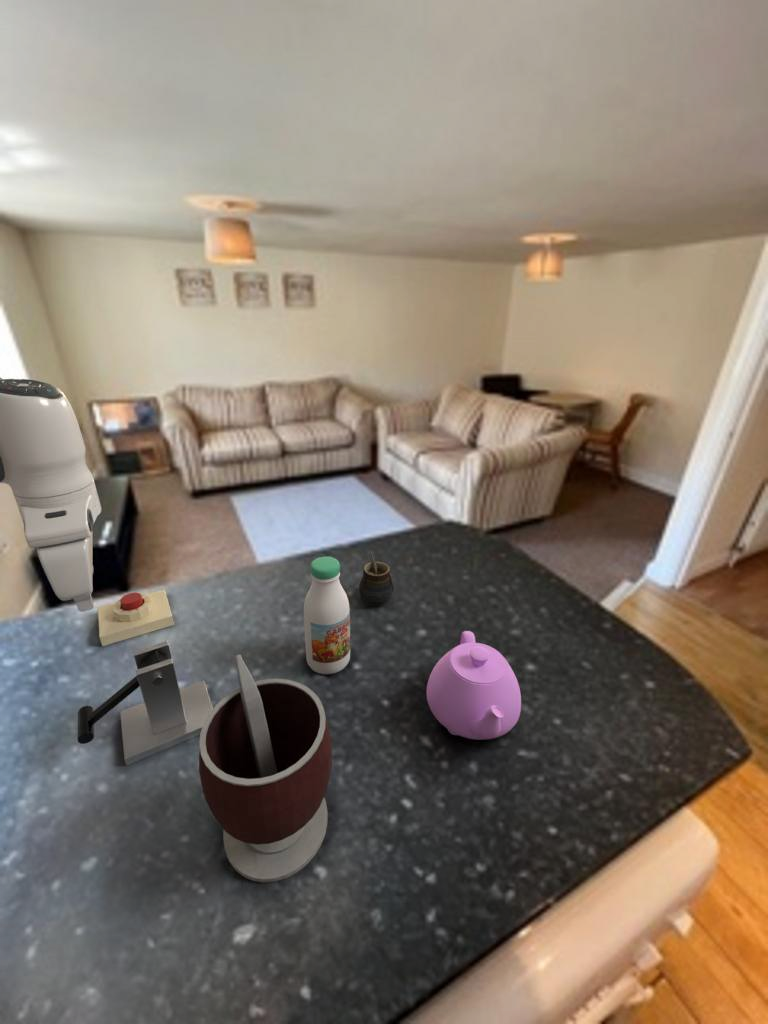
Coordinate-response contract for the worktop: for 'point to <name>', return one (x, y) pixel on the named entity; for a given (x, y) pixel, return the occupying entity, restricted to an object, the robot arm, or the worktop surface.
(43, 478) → the robot arm
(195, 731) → the bracket
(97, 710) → the lever
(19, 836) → the worktop surface
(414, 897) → the worktop surface
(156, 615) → the button box
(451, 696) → the teapot
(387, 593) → the mate gourd
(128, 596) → the button
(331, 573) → the milk bottle
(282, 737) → the mate gourd
